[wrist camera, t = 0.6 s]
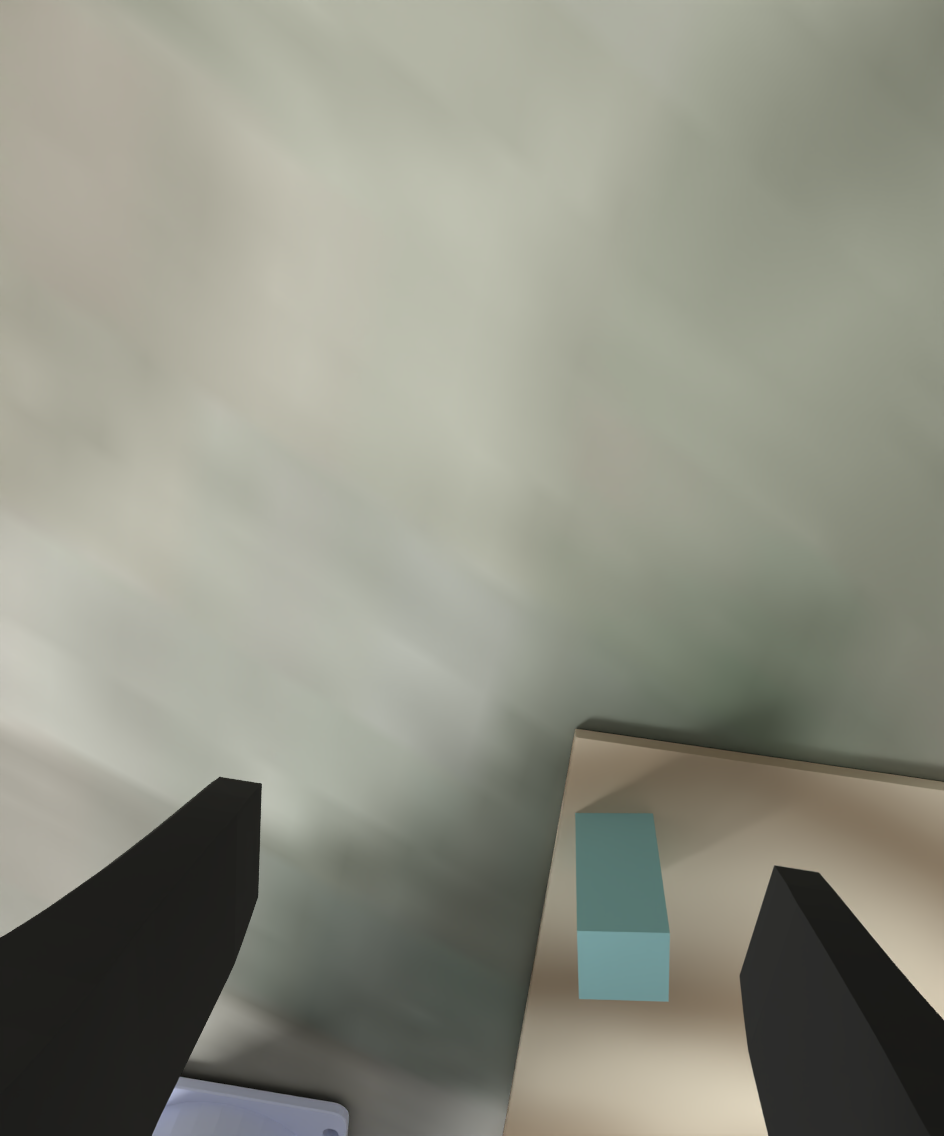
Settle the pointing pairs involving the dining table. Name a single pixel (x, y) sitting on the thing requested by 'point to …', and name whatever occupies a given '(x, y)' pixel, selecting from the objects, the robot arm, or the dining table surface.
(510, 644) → the dining table surface
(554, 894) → the board
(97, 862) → the dining table surface
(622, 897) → the post
